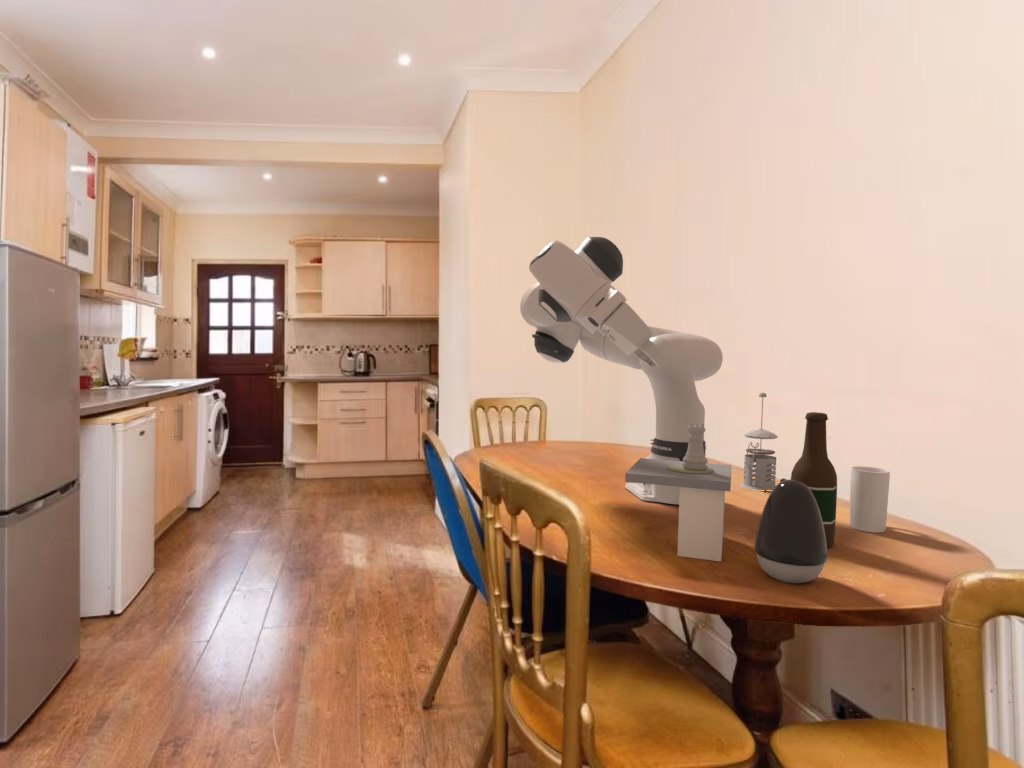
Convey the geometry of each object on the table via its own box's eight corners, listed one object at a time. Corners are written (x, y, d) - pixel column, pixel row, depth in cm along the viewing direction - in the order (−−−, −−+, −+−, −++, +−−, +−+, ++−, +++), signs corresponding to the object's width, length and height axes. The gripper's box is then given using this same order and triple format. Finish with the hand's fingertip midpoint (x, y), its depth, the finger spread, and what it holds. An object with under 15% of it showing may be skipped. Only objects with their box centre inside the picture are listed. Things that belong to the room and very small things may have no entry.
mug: (887, 535, 117) (890, 474, 116) (847, 529, 120) (850, 470, 120) (885, 523, 126) (888, 466, 125) (848, 518, 129) (851, 462, 128)
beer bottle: (816, 551, 106) (822, 415, 105) (778, 539, 113) (783, 411, 112) (844, 546, 110) (850, 414, 108) (806, 534, 116) (811, 410, 115)
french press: (785, 487, 159) (789, 393, 158) (768, 494, 151) (772, 394, 149) (748, 481, 166) (751, 390, 165) (729, 488, 157) (733, 392, 156)
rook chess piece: (708, 467, 109) (709, 423, 109) (707, 471, 105) (709, 426, 105) (682, 465, 111) (684, 422, 110) (681, 469, 107) (682, 424, 106)
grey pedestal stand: (623, 550, 104) (625, 471, 104) (638, 525, 120) (640, 456, 120) (727, 564, 99) (730, 480, 98) (728, 535, 114) (731, 463, 114)
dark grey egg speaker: (812, 567, 98) (816, 474, 97) (836, 592, 88) (841, 488, 87) (746, 563, 99) (750, 471, 99) (762, 586, 89) (766, 484, 88)
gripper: (589, 329, 121) (639, 377, 120) (592, 316, 100) (653, 374, 99) (611, 306, 120) (662, 354, 119) (619, 288, 100) (681, 346, 99)
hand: (658, 363), depth 109 cm, fingers open, 8 cm apart
